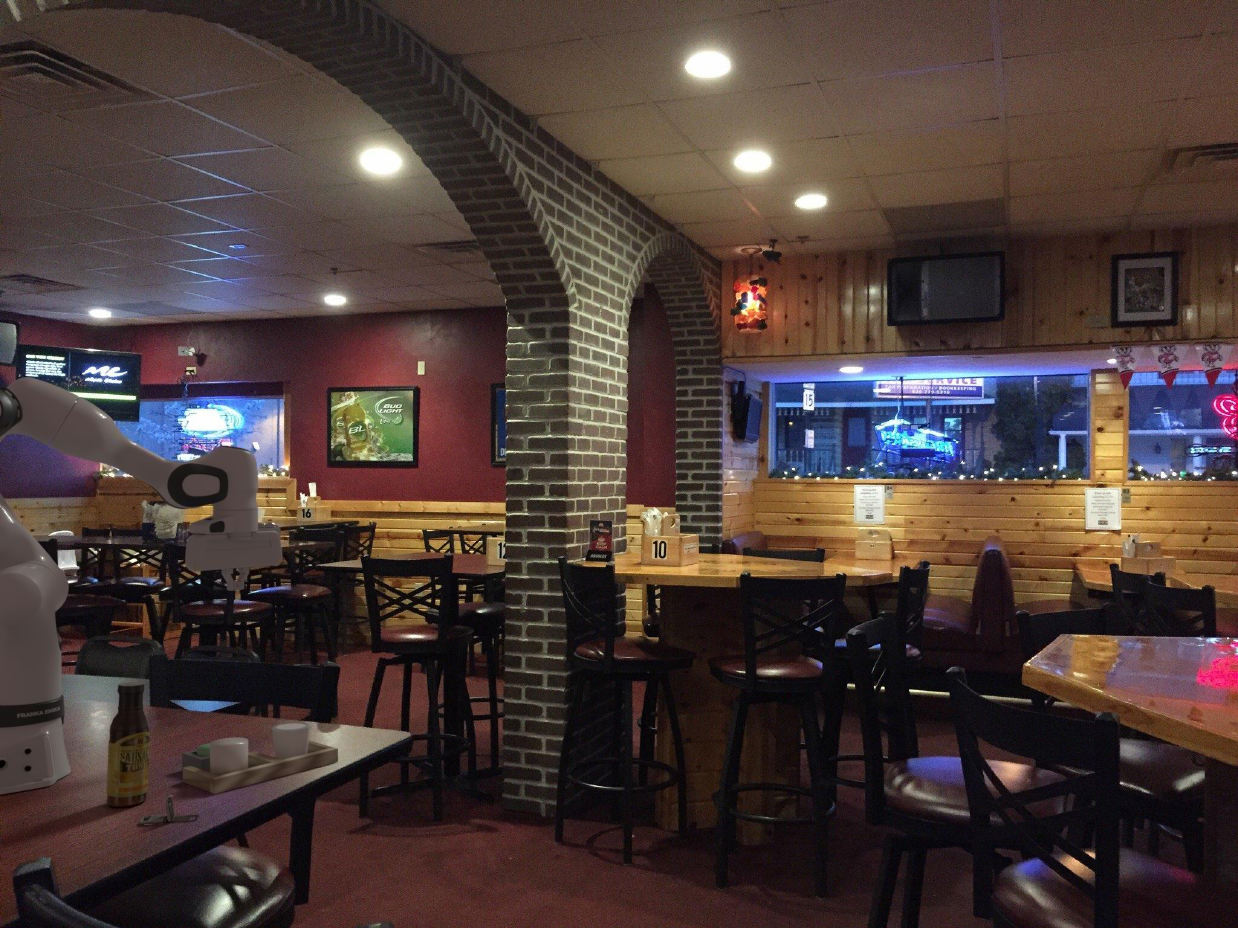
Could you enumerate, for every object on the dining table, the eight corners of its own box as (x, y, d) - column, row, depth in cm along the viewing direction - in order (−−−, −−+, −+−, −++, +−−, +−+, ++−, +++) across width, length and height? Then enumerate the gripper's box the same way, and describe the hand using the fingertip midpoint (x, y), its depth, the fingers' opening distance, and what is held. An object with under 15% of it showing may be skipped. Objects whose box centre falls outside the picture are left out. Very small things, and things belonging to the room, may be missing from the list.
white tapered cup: (300, 768, 187) (300, 730, 187) (265, 766, 188) (265, 729, 188) (316, 758, 194) (316, 721, 194) (282, 756, 195) (282, 720, 195)
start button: (204, 765, 183) (204, 750, 183) (192, 761, 186) (192, 746, 186) (226, 760, 187) (227, 745, 187) (214, 756, 190) (214, 741, 190)
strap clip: (138, 828, 156) (138, 801, 156) (141, 821, 159) (142, 795, 159) (196, 823, 158) (196, 796, 158) (199, 817, 161) (199, 790, 161)
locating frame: (214, 793, 172) (214, 779, 172) (182, 781, 179) (182, 767, 179) (337, 761, 191) (337, 748, 191) (304, 751, 198) (304, 739, 198)
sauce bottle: (120, 811, 163) (121, 689, 163) (98, 804, 166) (99, 685, 167) (157, 800, 169) (157, 682, 169) (135, 794, 172) (136, 678, 172)
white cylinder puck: (221, 788, 175) (221, 748, 175) (203, 781, 179) (203, 742, 179) (255, 780, 180) (255, 741, 180) (236, 773, 184) (236, 735, 184)
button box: (201, 777, 182) (201, 759, 182) (182, 770, 186) (182, 752, 186) (237, 768, 187) (237, 751, 187) (217, 761, 191) (217, 744, 191)
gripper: (272, 521, 219) (271, 584, 219) (181, 525, 203) (181, 593, 203) (288, 522, 215) (288, 586, 215) (197, 525, 199) (197, 595, 199)
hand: (235, 589), depth 209 cm, fingers closed
